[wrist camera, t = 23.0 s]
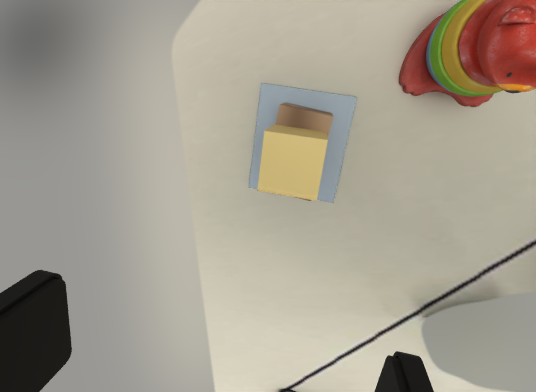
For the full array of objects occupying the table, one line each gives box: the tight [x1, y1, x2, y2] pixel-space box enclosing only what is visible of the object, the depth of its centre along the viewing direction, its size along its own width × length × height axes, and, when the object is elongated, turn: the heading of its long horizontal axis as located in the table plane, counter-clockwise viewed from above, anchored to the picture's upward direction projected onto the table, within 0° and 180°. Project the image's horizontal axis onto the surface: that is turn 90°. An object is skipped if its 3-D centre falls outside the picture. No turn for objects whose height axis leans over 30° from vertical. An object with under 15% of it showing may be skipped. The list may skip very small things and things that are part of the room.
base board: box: [249, 83, 357, 203], centre depth 42 cm, size 12×14×1 cm
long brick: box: [275, 102, 333, 201], centre depth 39 cm, size 6×10×6 cm, turn 168°
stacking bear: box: [399, 0, 536, 107], centre depth 29 cm, size 11×10×18 cm
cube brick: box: [257, 124, 328, 201], centre depth 33 cm, size 6×6×6 cm
